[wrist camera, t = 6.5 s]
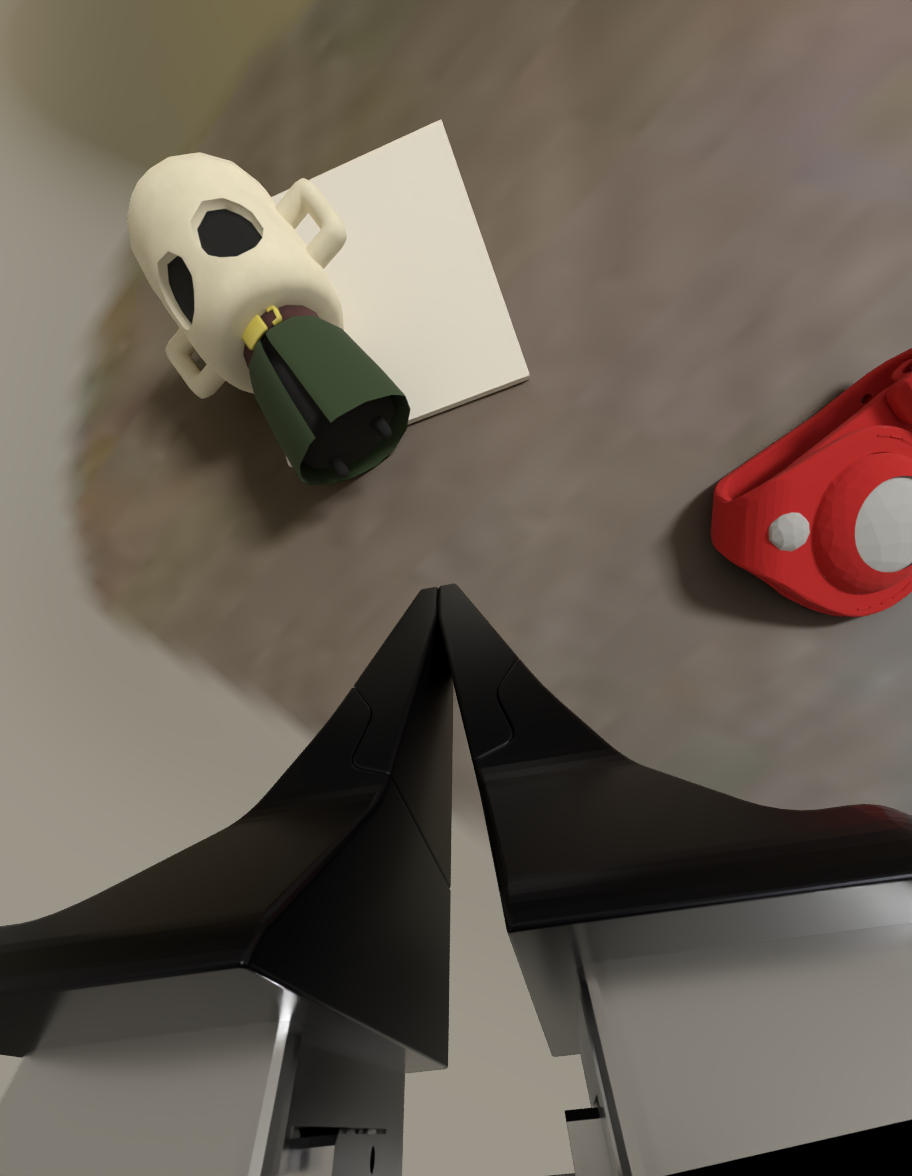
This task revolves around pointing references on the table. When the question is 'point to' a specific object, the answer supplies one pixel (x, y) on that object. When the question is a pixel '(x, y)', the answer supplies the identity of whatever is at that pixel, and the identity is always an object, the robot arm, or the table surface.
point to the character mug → (264, 311)
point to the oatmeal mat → (418, 274)
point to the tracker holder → (830, 502)
